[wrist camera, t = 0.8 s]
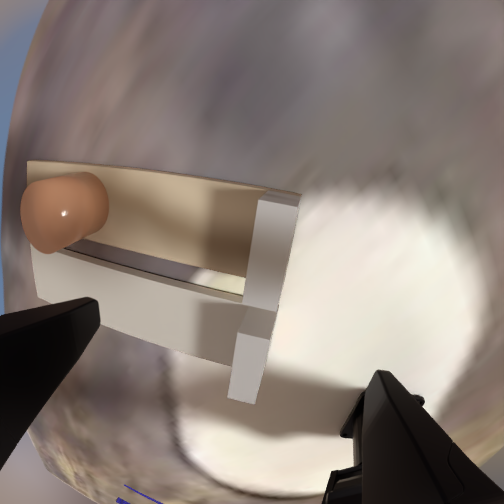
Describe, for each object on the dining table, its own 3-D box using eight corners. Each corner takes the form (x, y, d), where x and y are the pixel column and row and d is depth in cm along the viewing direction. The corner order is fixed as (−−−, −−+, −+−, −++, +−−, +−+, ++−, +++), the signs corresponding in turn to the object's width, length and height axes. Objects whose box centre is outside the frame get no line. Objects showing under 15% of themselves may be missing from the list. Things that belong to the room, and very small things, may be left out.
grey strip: (264, 366, 24) (254, 404, 20) (43, 293, 27) (15, 311, 23) (279, 304, 22) (270, 340, 18) (36, 240, 25) (4, 255, 21)
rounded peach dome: (108, 238, 22) (66, 261, 17) (64, 228, 23) (23, 246, 18) (110, 174, 20) (64, 184, 16) (64, 169, 21) (19, 178, 16)
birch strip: (284, 279, 21) (276, 311, 17) (35, 221, 25) (2, 234, 20) (301, 194, 19) (298, 207, 15) (34, 159, 22) (-2, 166, 18)
